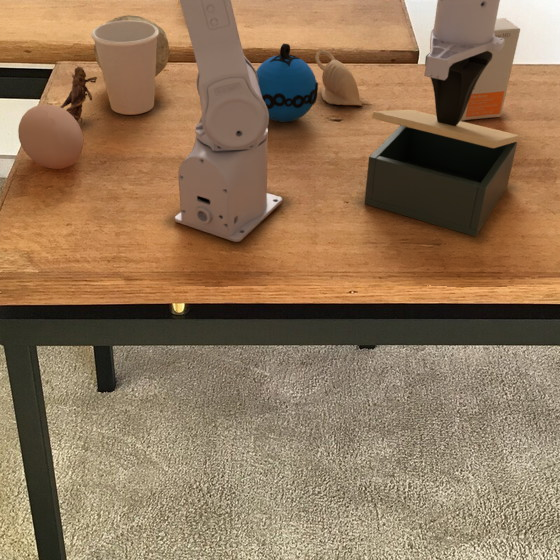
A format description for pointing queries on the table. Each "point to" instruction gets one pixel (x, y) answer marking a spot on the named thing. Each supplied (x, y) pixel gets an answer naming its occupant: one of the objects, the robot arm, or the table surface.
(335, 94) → the decorative ornament
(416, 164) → the chest
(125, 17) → the sculpture
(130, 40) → the dixie cup
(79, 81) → the insect
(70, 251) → the table surface
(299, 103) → the ornament
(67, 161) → the egg
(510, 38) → the cosmetic box
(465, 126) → the lid
